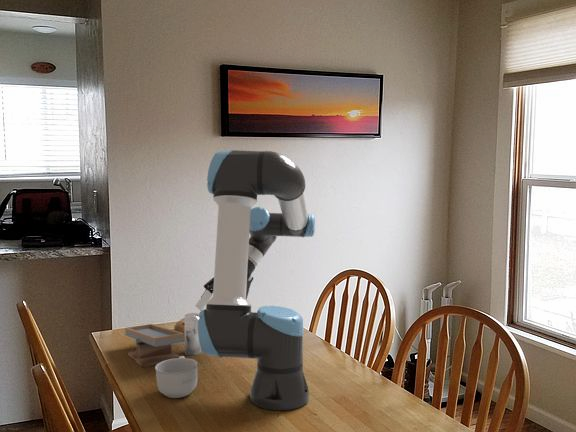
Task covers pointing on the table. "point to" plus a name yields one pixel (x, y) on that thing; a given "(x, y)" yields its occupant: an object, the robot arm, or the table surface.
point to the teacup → (176, 377)
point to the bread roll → (180, 326)
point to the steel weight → (192, 334)
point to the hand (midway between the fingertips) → (210, 312)
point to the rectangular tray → (154, 335)
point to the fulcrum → (151, 354)
